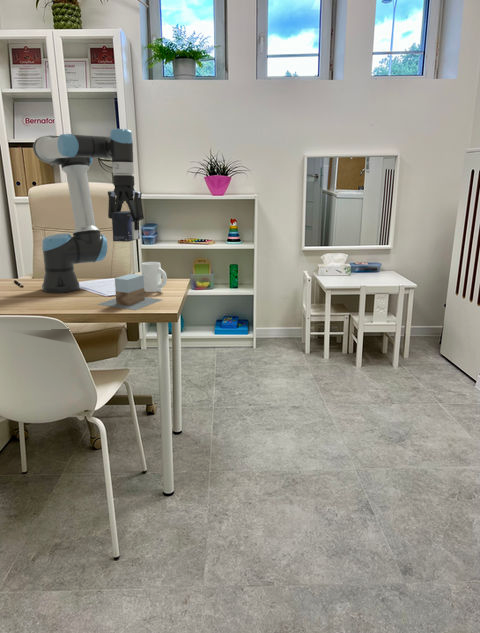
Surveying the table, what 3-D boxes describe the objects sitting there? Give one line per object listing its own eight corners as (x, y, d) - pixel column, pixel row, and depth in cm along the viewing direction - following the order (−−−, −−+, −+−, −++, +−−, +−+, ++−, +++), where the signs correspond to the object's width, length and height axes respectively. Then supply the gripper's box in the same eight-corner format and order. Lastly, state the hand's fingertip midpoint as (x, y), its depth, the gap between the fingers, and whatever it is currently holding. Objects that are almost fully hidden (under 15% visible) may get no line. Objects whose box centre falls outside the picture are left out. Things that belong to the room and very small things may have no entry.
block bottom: (116, 303, 184) (115, 291, 182) (132, 298, 192) (131, 286, 191) (129, 305, 181) (128, 292, 180) (144, 300, 190) (144, 287, 189)
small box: (128, 242, 174) (126, 212, 171) (112, 241, 176) (110, 212, 173) (141, 238, 184) (139, 210, 181) (125, 238, 186) (123, 210, 183)
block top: (115, 291, 182) (114, 278, 181) (131, 286, 191) (131, 273, 190) (128, 292, 180) (127, 279, 178) (144, 287, 189) (143, 275, 187)
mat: (96, 305, 183) (96, 304, 183) (126, 295, 198) (126, 294, 198) (135, 311, 175) (135, 310, 175) (163, 300, 191) (163, 299, 191)
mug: (160, 294, 200) (159, 266, 197) (138, 291, 206) (137, 263, 202) (172, 291, 207) (171, 263, 204) (150, 287, 213) (149, 261, 209)
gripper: (94, 174, 174) (99, 237, 181) (139, 174, 166) (142, 241, 172) (108, 174, 181) (112, 235, 187) (152, 175, 173) (154, 239, 179)
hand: (126, 238), depth 180 cm, fingers closed on small box, 7 cm apart
